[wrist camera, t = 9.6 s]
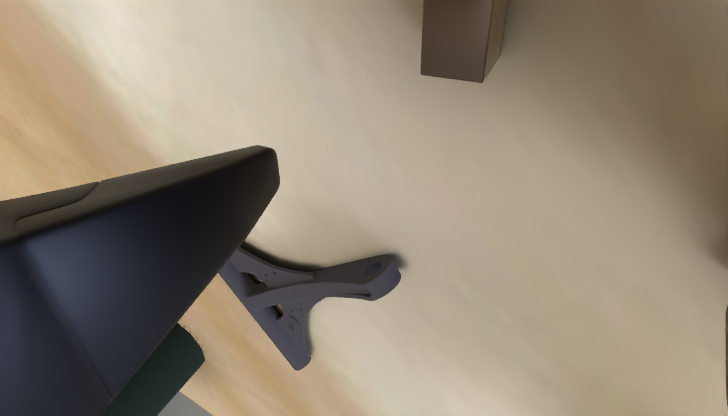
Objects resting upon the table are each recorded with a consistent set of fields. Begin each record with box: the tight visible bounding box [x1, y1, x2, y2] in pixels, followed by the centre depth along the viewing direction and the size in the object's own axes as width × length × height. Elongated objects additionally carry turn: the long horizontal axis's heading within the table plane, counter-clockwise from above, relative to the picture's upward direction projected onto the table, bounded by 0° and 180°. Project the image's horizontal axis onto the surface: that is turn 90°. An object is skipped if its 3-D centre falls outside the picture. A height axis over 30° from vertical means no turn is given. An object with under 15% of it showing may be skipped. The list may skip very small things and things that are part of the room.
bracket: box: [218, 246, 401, 371], centre depth 30 cm, size 14×15×3 cm
